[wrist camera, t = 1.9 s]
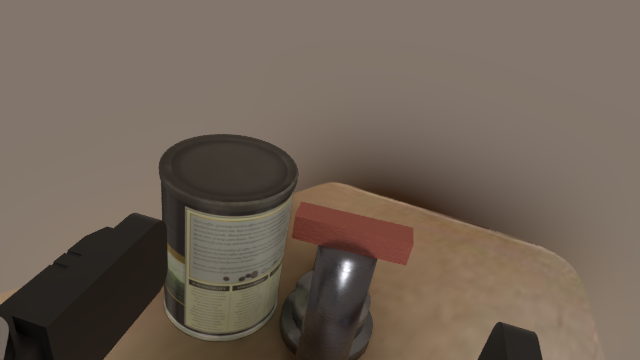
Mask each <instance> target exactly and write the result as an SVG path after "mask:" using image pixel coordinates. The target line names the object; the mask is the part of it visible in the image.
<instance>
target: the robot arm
mask: <svg viewBox="0 0 640 360" xmlns="http://www.w3.org/2000/svg"><path fill="white" fill-rule="evenodd" d="M167 272H168V252H167V226H166V223H165V222H164V221H162V220H158V219H154V218H151V217H148V216H145V215H141V214H138V213H133V214H130V215H129V216H128V217H126V218H125V219H124V220H123V221H122V222H121V223H119V224H118V225H117V226H116V227H115V228H110V227H105V228H103V229H101V230H98V231H96V232H94V233H92V234H89V235H87V236H85V237H84V238H82V239H81V240H80V241H79V242H78V243H76V244H75V245H74V246H73V247H71V248H70V249H69V250H68V252H67V253H64V254H63V255H61V256H60V257H59V258H58V259H56V260H55V261H54V263H53V265H49V266H48V267H47V268H45V269H44V270H43V271H42V272H40V273H39V274H38V275H37V276H35V277H34V278H33V279H32V280H30V281H29V282H28V283H27V284H26V285H24V286H23V287H22V288H21V289H19V290H18V291H17V292H16V293H14V294H13V295H12V296H11V297H9V298H8V299H7V300H6V301H5V302H3V303H2V304H1V305H0V360H103V359H104V358H105V357H106V355H107V354H108V353H109V352H110V351H111V349H112V348H113V347H114V346H115V345H116V343H117V342H118V341H119V340H120V339H121V337H122V336H123V335H124V334H125V333H126V331H127V330H128V329H129V328H130V327H131V325H132V324H133V323H134V322H135V320H136V319H137V318H138V317H139V316H140V314H141V313H142V312H143V311H144V310H145V308H146V307H147V306H148V305H149V304H150V302H151V301H152V300H153V299H154V298H155V296H156V295H157V294H158V293H159V291H160V290H161V288H162V286H163V284H164V282H165V279H166V276H167ZM478 360H542V355H541V350H540V345H539V341H538V337H537V335H536V333H535V332H532V331H529V330H526V329H522V328H519V327H515V326H512V325H509V324H505V323H502V322H498V323H497V324H496V325H495V326H494V328H493V330H492V332H491V334H490V336H489V338H488V340H487V342H486V344H485V346H484V348H483V350H482V352H481V354H480V356H479V358H478Z"/></svg>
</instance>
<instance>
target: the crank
mask: <svg viewBox="0 0 640 360" xmlns="http://www.w3.org/2000/svg"><path fill="white" fill-rule="evenodd" d="M292 238H293V239H298V240H302V241H306V242H310V243H314V244H318V250H317V255H316V260H315V265H314V270H311V271H309V272H307V273H305V274H304V275H303V276H302V277H301V278H300V279H299V280H298V282H297V285H296V289H295V294H294V300H293V305H292V317H293V320H294V323H295V325H296V326H297V328H298V329H299V330H300V331H301V333H300V338H299V343H298V348H297V353H296V358H295V360H348V356H349V353H350V350H351V346H352V343H353V339H355V338H356V337H357V336H358V335H359V334H360V333H361V331H362V329H363V327H364V324H365V320H366V317H367V314H368V311H369V307H370V295H369V292H368V289H369V286H370V282H371V279H372V276H373V272H374V269H375V266H376V262H377V259H381V260H385V261H389V262H393V263H398V264H402V265H406V264H407V261H408V258H409V255H410V252H411V249H412V247H413V228H411V227H407V226H403V225H399V224H394V223H390V222H386V221H382V220H377V219H373V218H369V217H365V216H360V215H356V214H352V213H347V212H343V211H339V210H335V209H330V208H326V207H322V206H318V205H313V204H309V203H305V202H301V203H300V206H299V208H298V211H297V213H296V216H295V221H294V228H293V234H292Z"/></svg>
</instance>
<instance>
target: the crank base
mask: <svg viewBox="0 0 640 360" xmlns="http://www.w3.org/2000/svg"><path fill="white" fill-rule="evenodd" d="M294 294H295V291H293V292H292V293H291V294H290V295H289V296H288V297H287V299H286V301H285V303H284V305H283V309H282V314H281V320H280V331H281V335H282V338H283V340H284V342H285V344H286V345H287V347H288V348H289V349H290V350H291V351H292V352H293V353H294V354H295V355H296V353H297V348H298V343H299V338H300V333H301V331H300V330H299V329H298V328H297V326H296V325H295V323H294V320H293V317H292V305H293V300H294ZM372 328H373V322H372V317H371V314H370V312H369V311H368V314H367V317H366V320H365V324H364V327H363V329H362V331H361V333H360V334H359V335H358V336H357V337H356V338H355V339H353V343H352V346H351V350H350V353H349V356H348V360H357V359H358V358H359V357H361V355H362V354H363V353H364V352H365V350H366V348H367V345H368V342H369V339H370V336H371V333H372Z"/></svg>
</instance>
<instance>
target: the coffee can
mask: <svg viewBox="0 0 640 360" xmlns="http://www.w3.org/2000/svg"><path fill="white" fill-rule="evenodd" d="M159 175H160V179H161V192H162V221H164V222H165V223H166V226H167V252H168V272H167V276H166V279H165V282H164V298H163V303H164V308H165V311H166V314H167V316H168V318H169V319H170V320H171V322H172V323H173V324H174V325H175V326H176V327H177V328H178V329H180V330H181V331H183V332H184V333H186V334H188V335H190V336H193V337H195V338H199V339H203V340H208V341H230V340H235V339H239V338H241V337H245V336H248V335H250V334H252V333H254V332H255V331H257V330H258V329H260V328H261V327H262V326H264V325H265V324H266V323H267V321H268V320H269V319H270V318H271V317H272V315H273V313H274V311H275V309H276V306H277V300H278V295H277V294H278V288H279V281H280V275H281V269H282V263H283V256H284V250H285V244H286V238H287V232H288V225H289V219H290V212H291V206H292V199H293V193H294V189H295V187H296V184H297V180H298V169H297V166H296V164H295V162H294V160H293V159H292V158H291V157H290V156H289V155H288V154H287V153H286V152H285V151H283V150H282V149H280V148H278V147H276V146H275V145H272V144H270V143H268V142H265V141H262V140H259V139H255V138H252V137H247V136H241V135H228V134H215V135H204V136H198V137H193V138H190V139H186V140H184V141H181V142H179V143H177V144H175V145H174V146H172V147H170V148H169V149H168V150H167V151H166V152H165V153H164V154H163V155H162V157H161V159H160V162H159Z"/></svg>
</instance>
